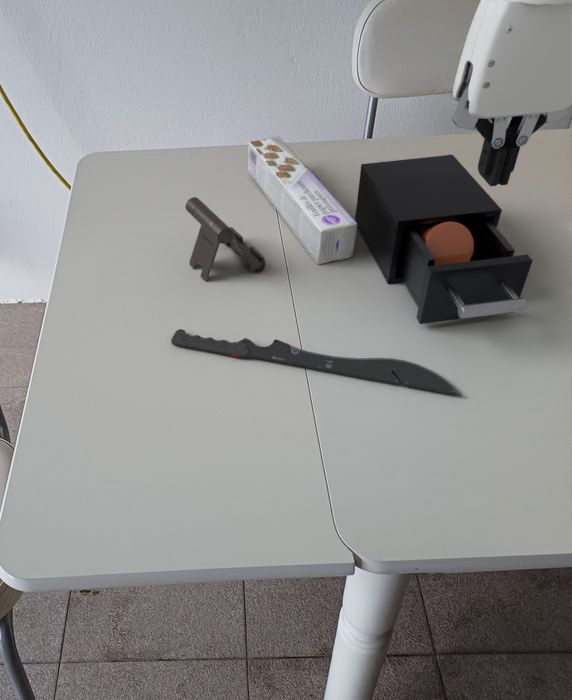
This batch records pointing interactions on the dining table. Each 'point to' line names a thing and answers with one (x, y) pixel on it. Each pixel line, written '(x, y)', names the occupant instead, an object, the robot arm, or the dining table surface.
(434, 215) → the cabinet
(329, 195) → the box
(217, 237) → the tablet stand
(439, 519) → the dining table surface
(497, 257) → the drawer
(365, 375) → the knife
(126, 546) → the dining table surface
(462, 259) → the orange cylinder puck
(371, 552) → the dining table surface
